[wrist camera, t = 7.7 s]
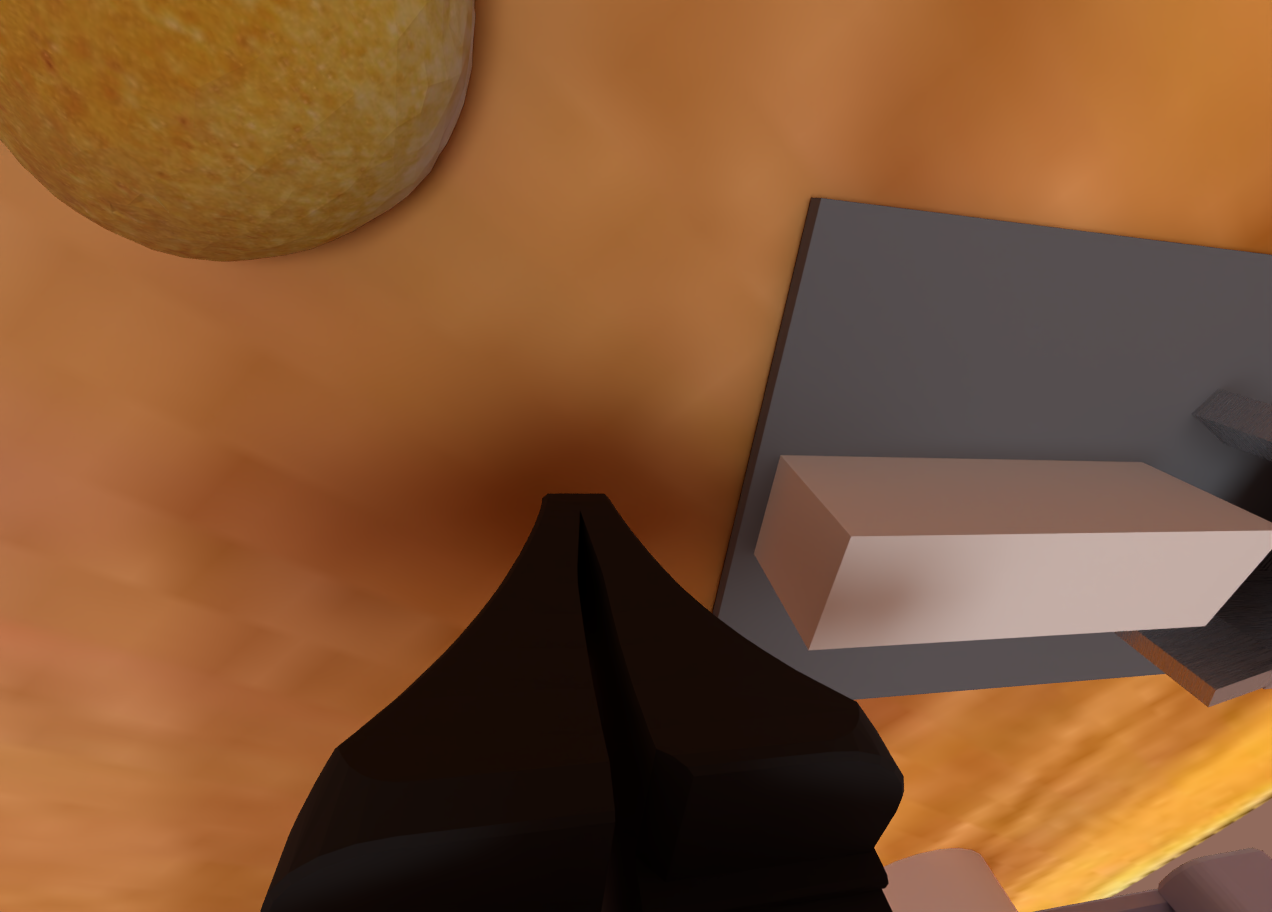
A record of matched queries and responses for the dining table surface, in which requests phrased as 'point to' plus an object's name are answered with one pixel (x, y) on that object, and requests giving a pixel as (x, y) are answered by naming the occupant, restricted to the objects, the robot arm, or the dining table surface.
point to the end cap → (1256, 612)
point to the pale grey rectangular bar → (996, 549)
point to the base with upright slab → (945, 884)
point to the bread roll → (232, 113)
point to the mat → (996, 396)
